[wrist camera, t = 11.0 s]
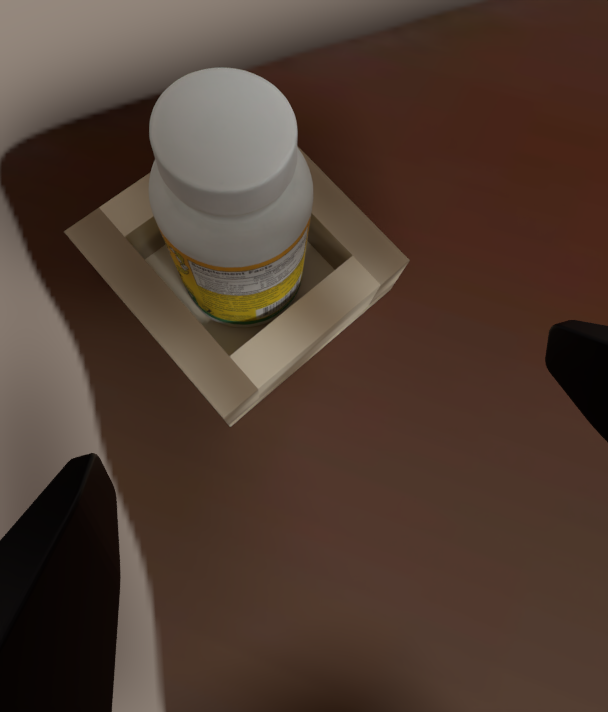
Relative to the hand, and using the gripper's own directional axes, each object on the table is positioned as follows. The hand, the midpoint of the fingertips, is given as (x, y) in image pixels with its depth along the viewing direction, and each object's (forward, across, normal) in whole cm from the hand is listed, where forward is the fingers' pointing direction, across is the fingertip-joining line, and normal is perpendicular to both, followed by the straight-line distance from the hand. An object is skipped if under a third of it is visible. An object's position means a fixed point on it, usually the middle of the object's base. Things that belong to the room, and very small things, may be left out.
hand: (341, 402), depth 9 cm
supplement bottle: (+14, 0, +3) cm, 14 cm away
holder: (+15, 0, +3) cm, 15 cm away
